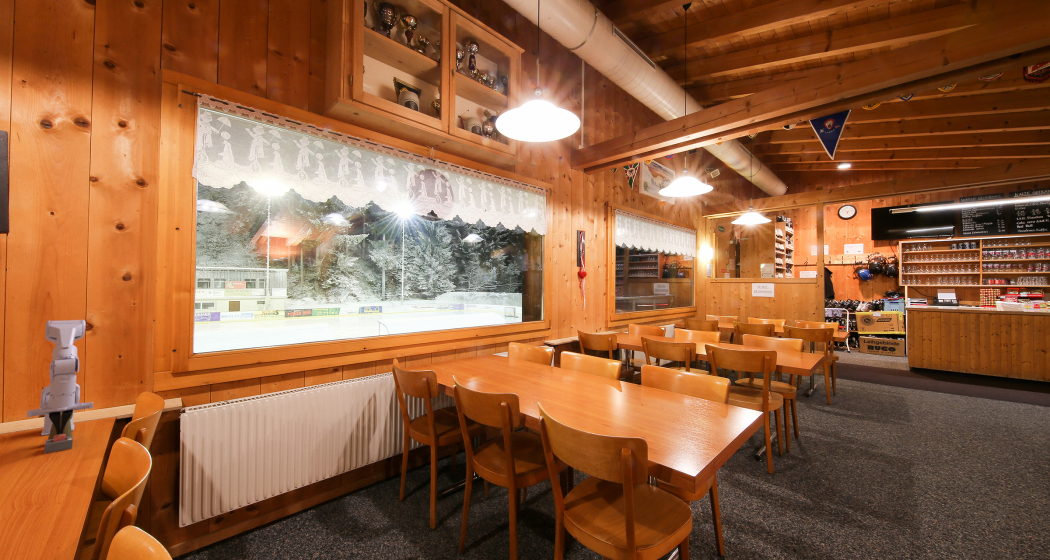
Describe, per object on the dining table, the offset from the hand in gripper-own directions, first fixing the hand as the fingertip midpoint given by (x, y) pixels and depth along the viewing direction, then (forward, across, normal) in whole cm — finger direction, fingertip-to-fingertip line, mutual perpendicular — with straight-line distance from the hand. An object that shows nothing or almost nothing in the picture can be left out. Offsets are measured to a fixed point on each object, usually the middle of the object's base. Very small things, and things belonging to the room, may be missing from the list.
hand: (59, 433), depth 131 cm
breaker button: (+3, 0, 0) cm, 3 cm away
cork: (+6, 0, +8) cm, 10 cm away
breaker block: (+5, 0, 0) cm, 5 cm away
